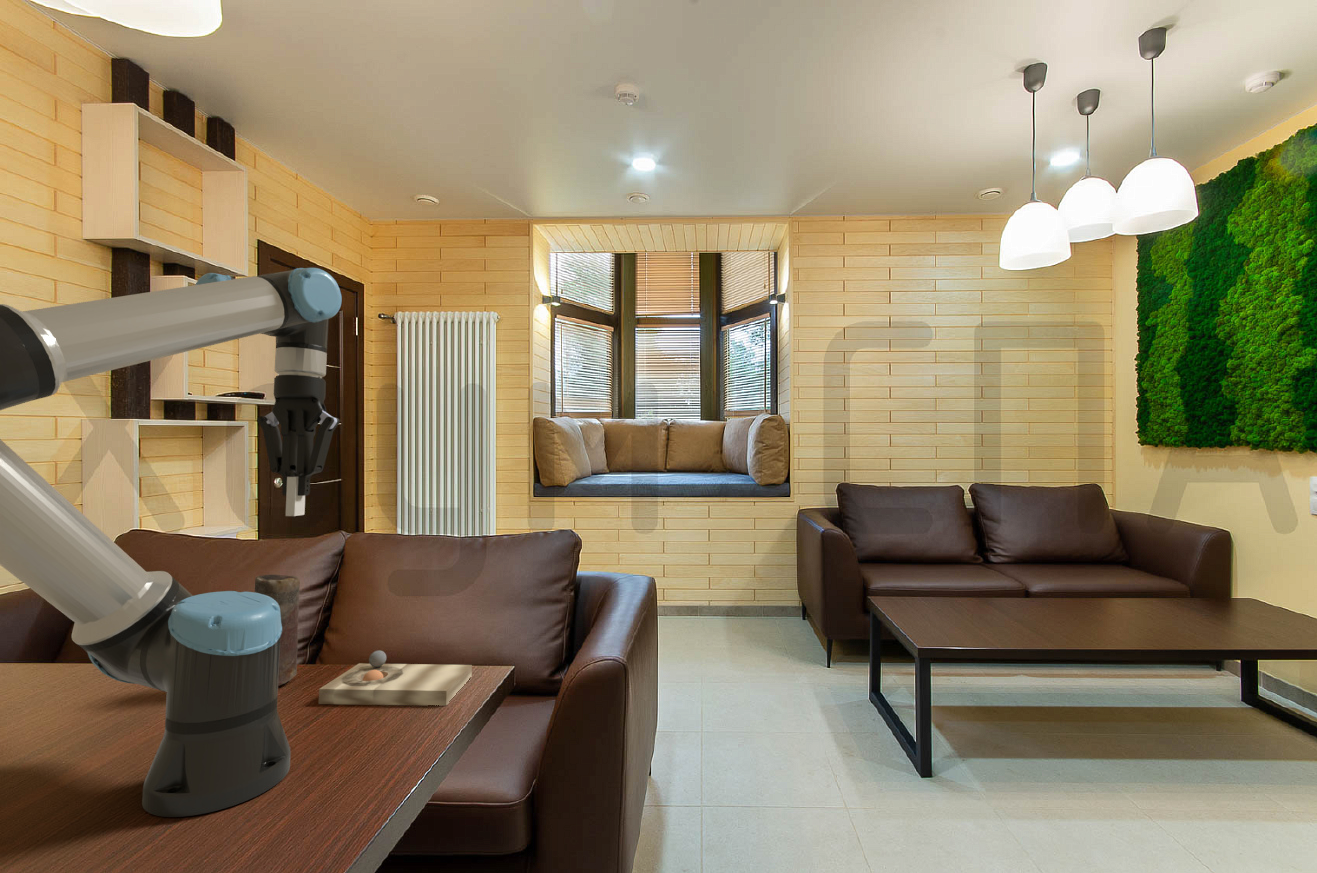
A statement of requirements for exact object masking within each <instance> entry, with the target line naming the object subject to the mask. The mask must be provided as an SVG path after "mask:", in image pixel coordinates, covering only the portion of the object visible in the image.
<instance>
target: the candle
mask: <svg viewBox="0 0 1317 873" xmlns="http://www.w3.org/2000/svg"><path fill="white" fill-rule="evenodd" d="M300 582H301V581H300V578H299V577H298V576H296V575H286V574H284V575H280V574H262V575H257V576H256V577H255V579H254V593H260V594H263V595H266V596H269V597H271V598H273V599H274V600H275V601H276V602H277V603H278V605H279V607H280V614H281V624H282V633H281V637H280V655H279V677H278V687H279V686H281V685H284V684H286V683H288V682H290V681H291V680H292V679H293V678H294V677H296V676H297V674H298V673H297V671H298V670H297V669H298V644H299V642H298V641H299V640H298V638H299V613H300V611H299V608H300V588H301V587H300V585H301V584H300Z"/></svg>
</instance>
